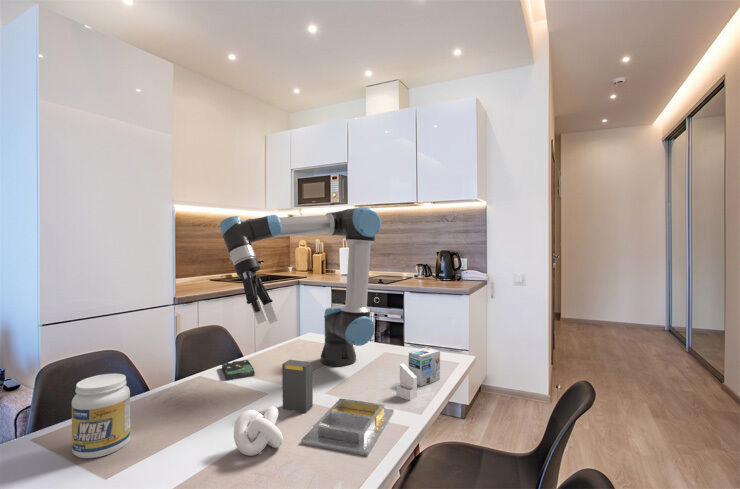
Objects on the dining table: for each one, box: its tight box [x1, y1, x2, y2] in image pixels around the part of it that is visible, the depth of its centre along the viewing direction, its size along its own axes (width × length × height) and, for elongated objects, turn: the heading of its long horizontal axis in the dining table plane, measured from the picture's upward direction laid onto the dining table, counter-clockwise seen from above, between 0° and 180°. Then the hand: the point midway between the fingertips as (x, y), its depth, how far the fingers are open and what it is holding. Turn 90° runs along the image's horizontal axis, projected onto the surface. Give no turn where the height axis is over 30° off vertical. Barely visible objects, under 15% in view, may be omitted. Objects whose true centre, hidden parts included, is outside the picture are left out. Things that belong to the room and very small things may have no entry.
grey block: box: [281, 359, 314, 414], centre depth 119 cm, size 4×8×14 cm, turn 72°
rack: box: [300, 397, 395, 457], centre depth 107 cm, size 24×18×4 cm
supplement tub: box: [71, 372, 131, 459], centre depth 97 cm, size 12×12×17 cm
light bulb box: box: [408, 346, 441, 387], centre depth 141 cm, size 11×7×11 cm, turn 131°
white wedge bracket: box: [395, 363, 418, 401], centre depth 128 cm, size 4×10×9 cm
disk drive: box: [221, 359, 256, 381], centre depth 151 cm, size 10×3×15 cm
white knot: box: [233, 406, 284, 457], centre depth 97 cm, size 11×12×9 cm
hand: (268, 322), depth 122 cm, fingers open, 13 cm apart
